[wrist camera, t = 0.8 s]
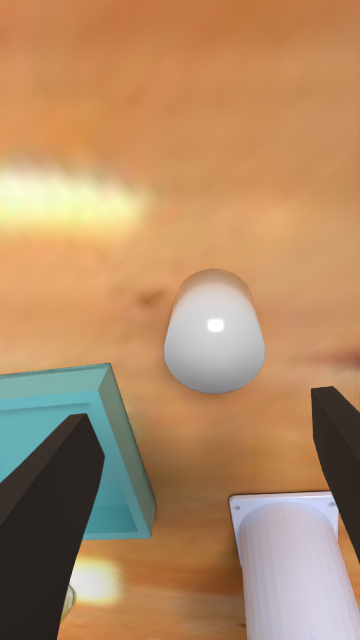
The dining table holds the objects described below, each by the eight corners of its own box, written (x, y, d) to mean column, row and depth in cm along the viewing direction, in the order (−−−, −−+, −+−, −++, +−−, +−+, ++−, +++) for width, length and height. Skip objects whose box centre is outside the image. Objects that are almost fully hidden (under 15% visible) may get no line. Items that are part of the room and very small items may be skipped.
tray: (156, 504, 28) (151, 538, 25) (1, 510, 30) (-17, 542, 28) (110, 363, 22) (97, 390, 19) (-80, 383, 24) (-113, 410, 21)
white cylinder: (255, 334, 20) (268, 389, 16) (181, 343, 21) (173, 397, 16) (248, 263, 18) (261, 302, 14) (167, 275, 19) (154, 315, 14)
